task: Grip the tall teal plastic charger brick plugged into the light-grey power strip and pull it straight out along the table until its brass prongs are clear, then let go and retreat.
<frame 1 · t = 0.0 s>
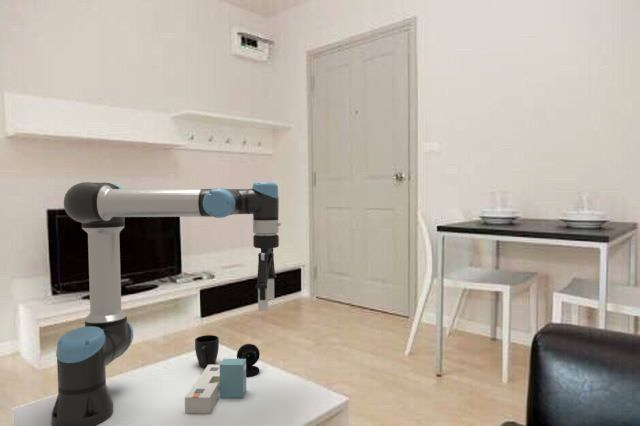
hand: (266, 304, 135), 28 cm above the table, fingers open, 13 cm apart
mug: (206, 367, 160), on the table
webcam: (248, 373, 155), on the table
power strip: (209, 394, 138), on the table
charger: (228, 377, 138), point 5 cm above the table, slide at 0.0 cm
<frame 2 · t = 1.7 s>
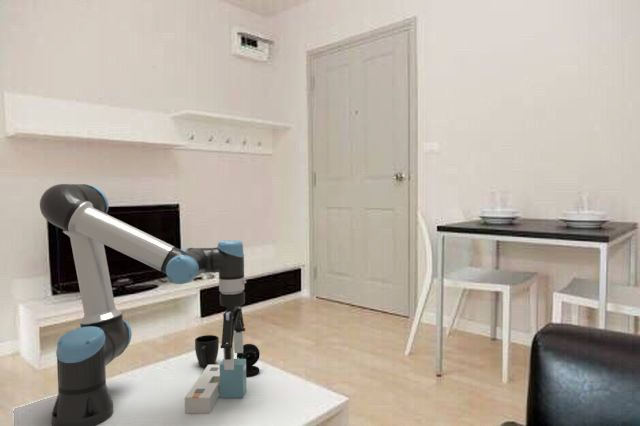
hand: (234, 360, 138), 10 cm above the table, fingers open, 13 cm apart
nothing on the table moved.
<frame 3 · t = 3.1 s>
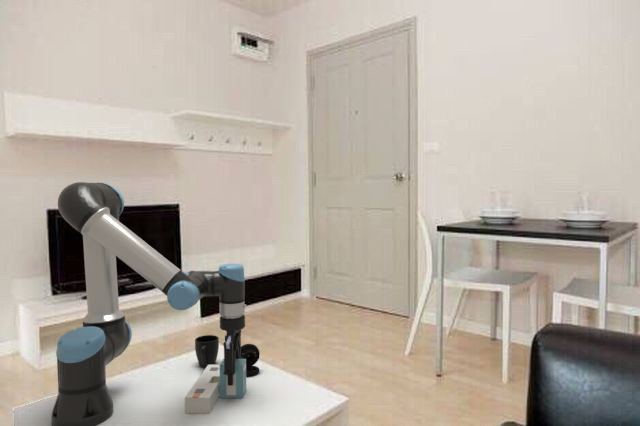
hand: (233, 390, 138), 1 cm above the table, fingers closed on charger, 5 cm apart
charger: (228, 377, 138), point 5 cm above the table, slide at 0.0 cm, touching gripper
everything else where it was.
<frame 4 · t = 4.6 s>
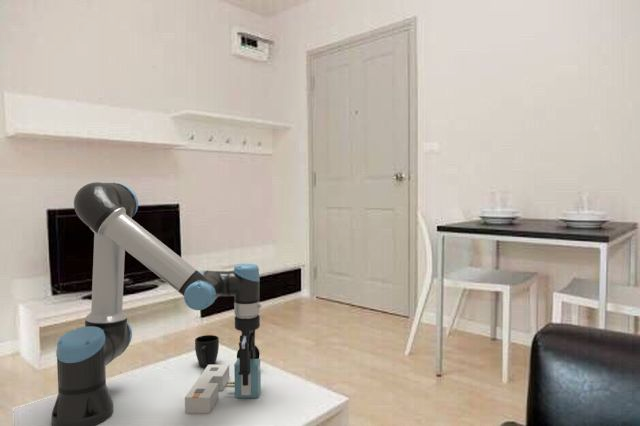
hand: (247, 390, 138), 1 cm above the table, fingers closed on charger, 5 cm apart
charger: (242, 377, 138), point 5 cm above the table, slide at 4.5 cm, touching gripper
everything else where it was.
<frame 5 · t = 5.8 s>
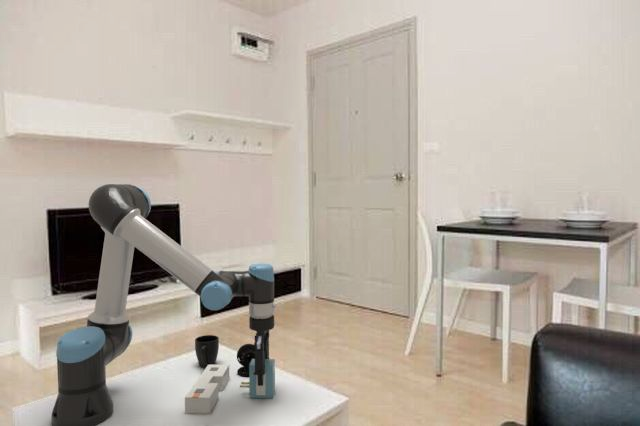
hand: (262, 390, 138), 1 cm above the table, fingers closed on charger, 5 cm apart
charger: (257, 378, 138), point 5 cm above the table, slide at 8.9 cm, touching gripper
everything else where it was.
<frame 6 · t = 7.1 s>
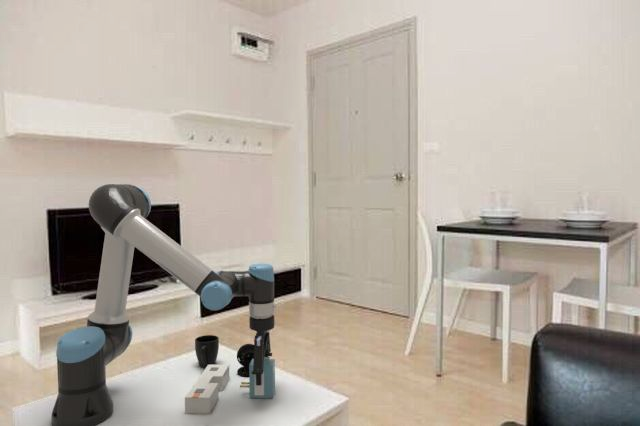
hand: (262, 385, 138), 3 cm above the table, fingers open, 11 cm apart
charger: (257, 378, 138), point 5 cm above the table, slide at 9.0 cm
everything else where it was.
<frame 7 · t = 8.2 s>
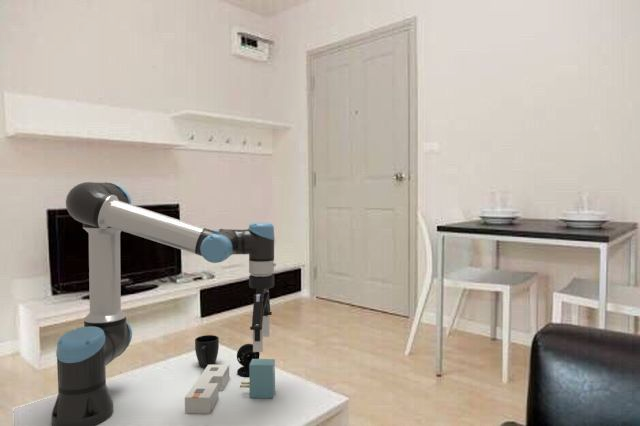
hand: (261, 343, 137), 16 cm above the table, fingers open, 13 cm apart
nothing on the table moved.
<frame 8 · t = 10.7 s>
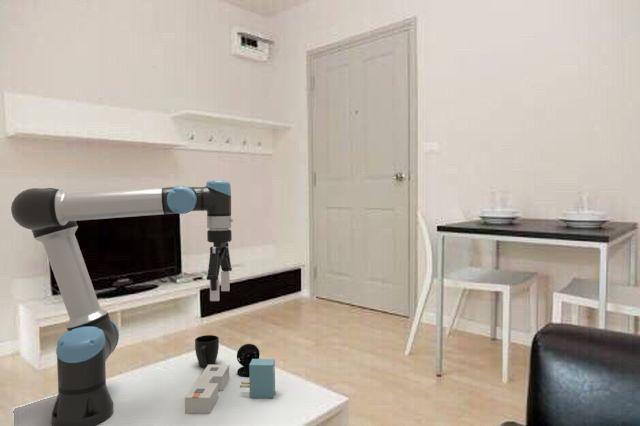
hand: (220, 295, 145), 29 cm above the table, fingers open, 13 cm apart
nothing on the table moved.
at the end: charger slide at 9.0 cm; the gripper is holding nothing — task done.
